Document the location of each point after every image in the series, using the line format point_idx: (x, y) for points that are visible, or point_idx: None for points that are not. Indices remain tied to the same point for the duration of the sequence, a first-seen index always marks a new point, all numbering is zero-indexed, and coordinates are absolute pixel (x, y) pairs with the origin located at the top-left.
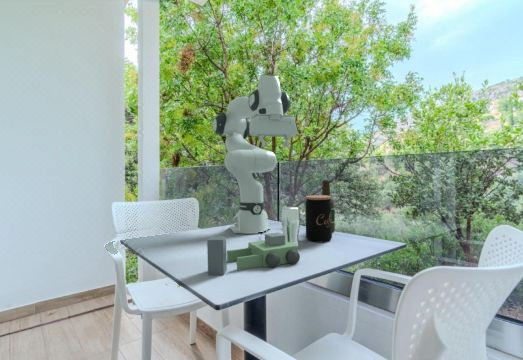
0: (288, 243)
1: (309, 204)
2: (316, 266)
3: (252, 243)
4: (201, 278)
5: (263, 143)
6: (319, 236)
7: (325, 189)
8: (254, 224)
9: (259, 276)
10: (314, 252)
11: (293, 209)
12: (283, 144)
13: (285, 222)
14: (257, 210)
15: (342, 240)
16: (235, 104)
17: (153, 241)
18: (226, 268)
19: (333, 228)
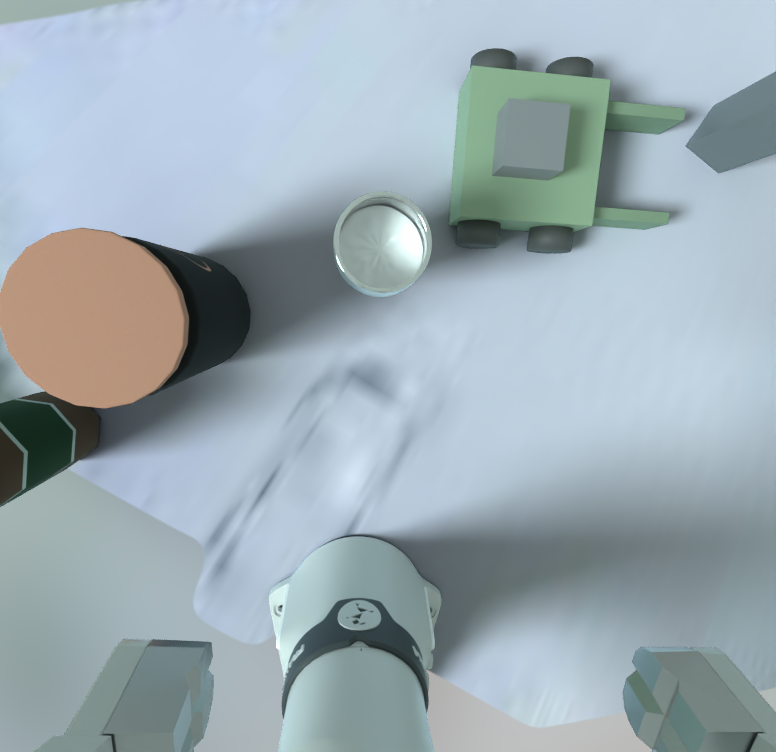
0: (478, 120)
1: (199, 307)
2: (442, 6)
3: (587, 202)
4: None
5: (754, 711)
6: (221, 266)
7: None
8: (374, 568)
9: (640, 31)
10: (340, 153)
11: (395, 193)
12: (191, 748)
13: (420, 234)
14: (358, 610)
15: None
16: None
17: (735, 612)
18: (691, 140)
19: (37, 393)
